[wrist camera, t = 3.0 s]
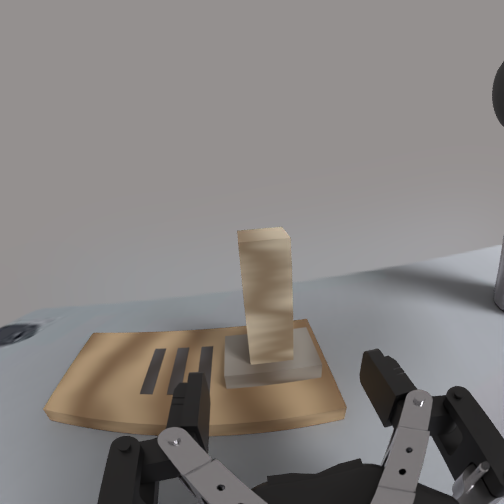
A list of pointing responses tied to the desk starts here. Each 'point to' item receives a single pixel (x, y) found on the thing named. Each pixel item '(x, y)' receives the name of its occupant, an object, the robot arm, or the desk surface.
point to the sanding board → (176, 371)
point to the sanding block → (268, 317)
